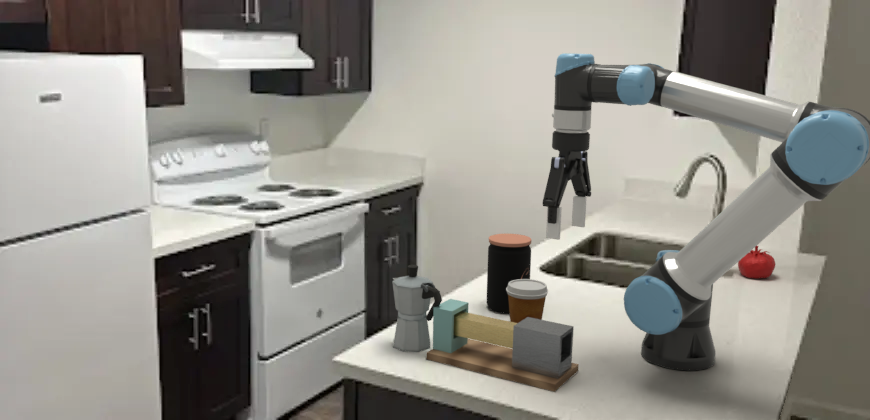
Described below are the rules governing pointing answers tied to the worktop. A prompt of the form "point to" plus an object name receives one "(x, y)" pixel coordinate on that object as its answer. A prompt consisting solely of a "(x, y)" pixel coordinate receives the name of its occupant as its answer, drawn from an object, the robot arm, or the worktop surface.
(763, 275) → the pomegranate
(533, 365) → the sleeve
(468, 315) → the wooden crossbeam
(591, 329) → the worktop surface
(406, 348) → the coffee maker
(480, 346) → the board
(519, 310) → the disposable coffee cup
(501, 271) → the coffee jar
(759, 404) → the worktop surface
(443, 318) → the socket
